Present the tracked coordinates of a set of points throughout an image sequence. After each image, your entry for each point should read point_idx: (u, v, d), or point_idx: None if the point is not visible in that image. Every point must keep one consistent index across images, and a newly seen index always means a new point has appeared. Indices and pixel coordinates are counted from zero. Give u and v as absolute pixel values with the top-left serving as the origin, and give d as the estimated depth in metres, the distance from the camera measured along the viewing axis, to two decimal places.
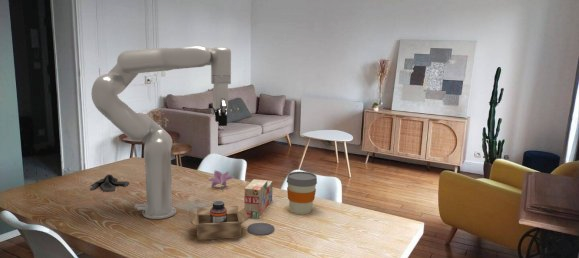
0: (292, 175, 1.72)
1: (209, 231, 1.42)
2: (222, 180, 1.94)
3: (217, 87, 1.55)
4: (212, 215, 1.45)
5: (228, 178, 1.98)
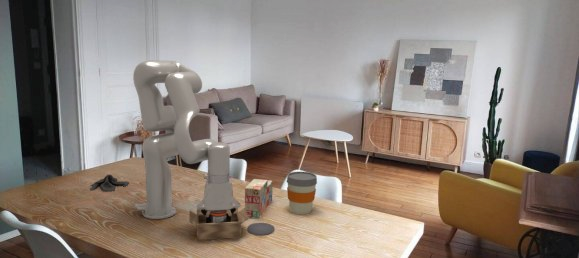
0: (292, 175, 1.72)
1: (209, 231, 1.42)
2: None
3: (231, 185, 1.45)
4: (212, 215, 1.45)
5: None
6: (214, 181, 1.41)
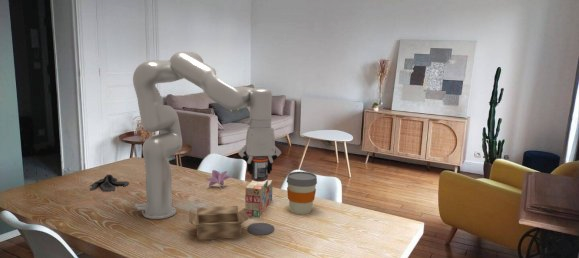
0: (292, 175, 1.72)
1: (209, 231, 1.42)
2: (220, 179, 1.95)
3: (273, 131, 1.44)
4: (254, 161, 1.45)
5: (226, 177, 1.99)
6: (257, 126, 1.41)
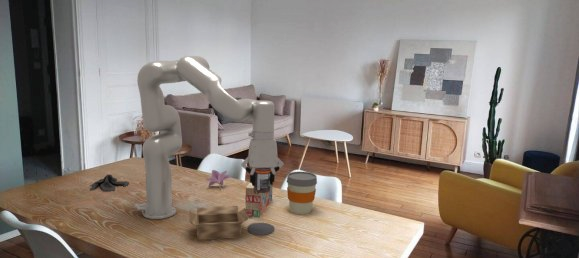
0: (292, 175, 1.72)
1: (209, 231, 1.42)
2: (219, 179, 1.95)
3: (276, 143, 1.45)
4: (257, 173, 1.46)
5: (225, 177, 1.99)
6: (260, 138, 1.42)
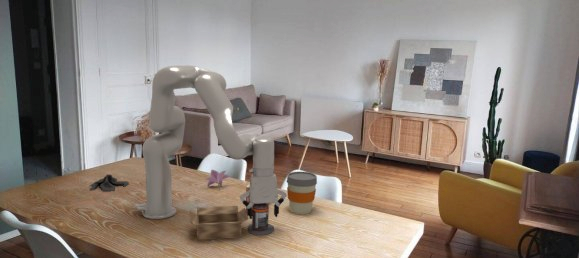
0: (292, 175, 1.72)
1: (209, 231, 1.42)
2: (218, 179, 1.96)
3: (276, 179, 1.48)
4: (255, 211, 1.48)
5: (224, 177, 1.99)
6: (260, 174, 1.45)
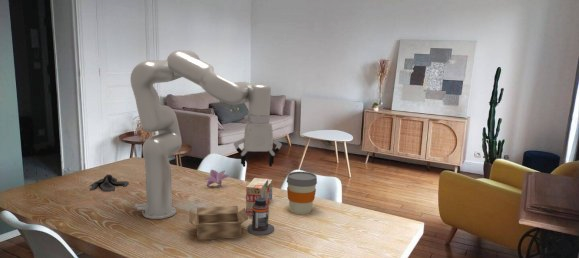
0: (292, 175, 1.72)
1: (209, 231, 1.42)
2: (218, 179, 1.96)
3: (271, 127, 1.46)
4: (255, 211, 1.48)
5: (223, 177, 1.99)
6: (255, 121, 1.43)
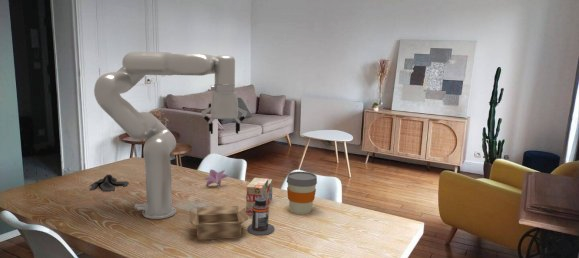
0: (292, 175, 1.72)
1: (209, 231, 1.42)
2: (217, 179, 1.96)
3: (236, 96, 1.55)
4: (255, 211, 1.48)
5: (223, 177, 2.00)
6: (220, 90, 1.52)
